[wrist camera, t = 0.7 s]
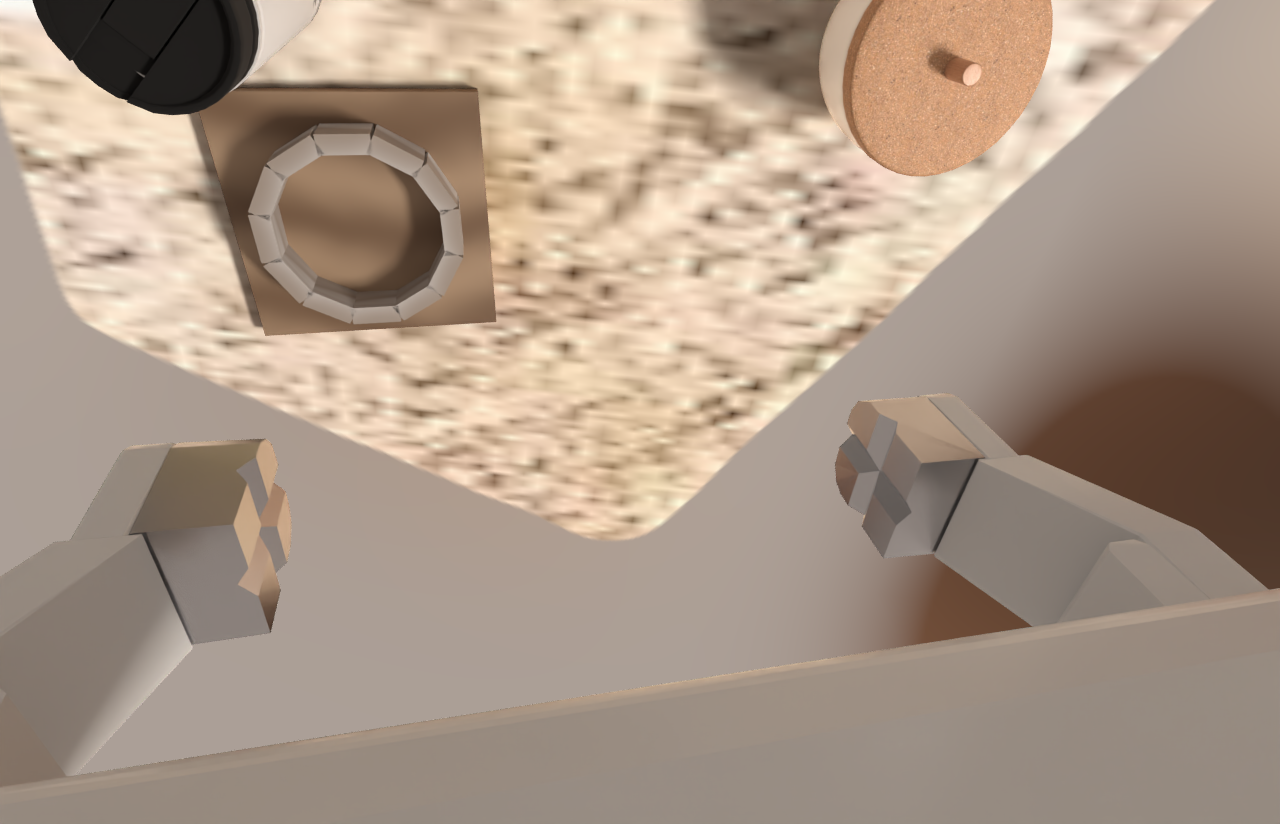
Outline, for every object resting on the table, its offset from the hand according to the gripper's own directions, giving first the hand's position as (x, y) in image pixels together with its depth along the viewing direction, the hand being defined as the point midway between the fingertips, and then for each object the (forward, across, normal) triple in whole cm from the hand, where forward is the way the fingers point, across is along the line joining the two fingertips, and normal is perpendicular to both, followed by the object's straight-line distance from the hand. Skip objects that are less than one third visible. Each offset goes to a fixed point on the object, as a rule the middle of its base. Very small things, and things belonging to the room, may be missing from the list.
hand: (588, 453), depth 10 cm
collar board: (+41, +8, +12) cm, 44 cm away
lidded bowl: (+41, -27, 0) cm, 49 cm away
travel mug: (+42, +11, -2) cm, 43 cm away
